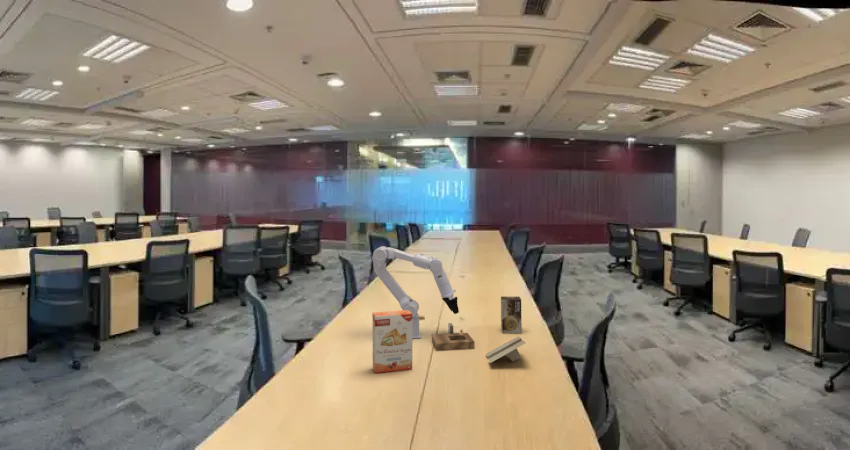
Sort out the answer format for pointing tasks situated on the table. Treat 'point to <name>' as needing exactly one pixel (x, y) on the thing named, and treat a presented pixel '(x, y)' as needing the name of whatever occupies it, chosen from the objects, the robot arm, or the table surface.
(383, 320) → the cracker box
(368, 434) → the table surface
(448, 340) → the well block
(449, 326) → the grey block
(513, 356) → the grey slanted stand
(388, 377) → the table surface
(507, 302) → the coffee box
